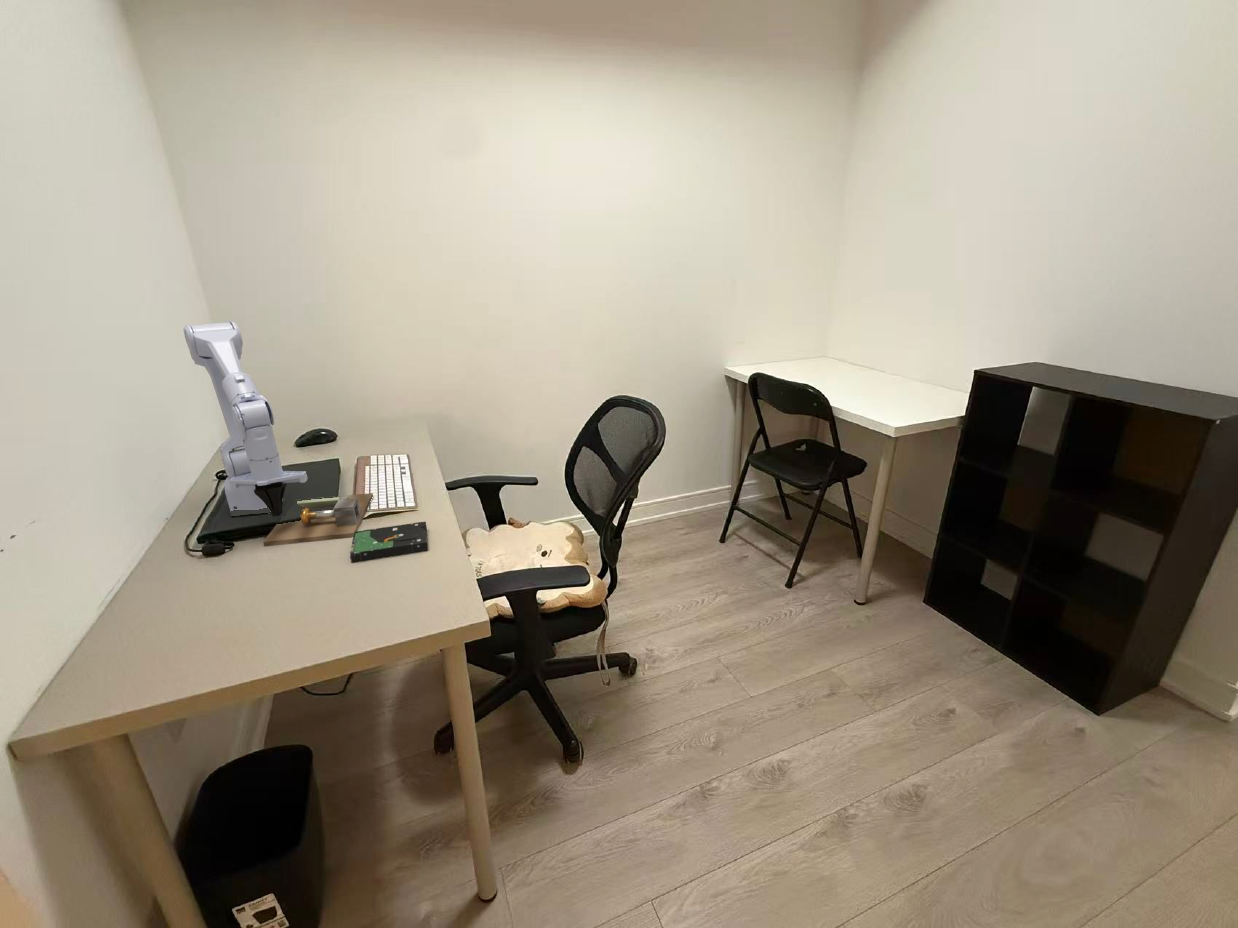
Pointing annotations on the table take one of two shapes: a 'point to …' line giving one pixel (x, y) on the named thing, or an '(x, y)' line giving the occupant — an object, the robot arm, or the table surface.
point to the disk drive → (389, 542)
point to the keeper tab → (319, 503)
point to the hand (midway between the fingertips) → (277, 514)
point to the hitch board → (324, 523)
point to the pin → (315, 515)
